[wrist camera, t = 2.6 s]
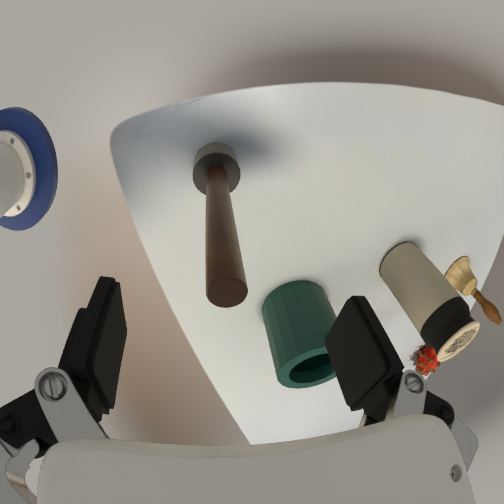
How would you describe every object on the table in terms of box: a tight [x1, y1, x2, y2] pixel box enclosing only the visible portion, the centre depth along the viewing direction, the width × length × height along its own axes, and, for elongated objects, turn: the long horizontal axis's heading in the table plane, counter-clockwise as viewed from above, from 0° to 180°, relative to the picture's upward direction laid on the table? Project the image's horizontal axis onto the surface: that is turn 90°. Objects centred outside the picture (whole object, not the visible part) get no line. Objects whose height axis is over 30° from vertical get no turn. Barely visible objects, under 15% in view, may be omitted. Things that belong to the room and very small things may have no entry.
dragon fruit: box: [413, 345, 440, 376], centre depth 60 cm, size 8×8×12 cm
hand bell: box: [445, 256, 502, 325], centre depth 39 cm, size 8×8×16 cm
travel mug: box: [380, 243, 480, 362], centre depth 33 cm, size 8×8×18 cm
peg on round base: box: [193, 143, 248, 308], centre depth 20 cm, size 4×4×20 cm
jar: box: [262, 281, 337, 388], centre depth 37 cm, size 10×10×12 cm
